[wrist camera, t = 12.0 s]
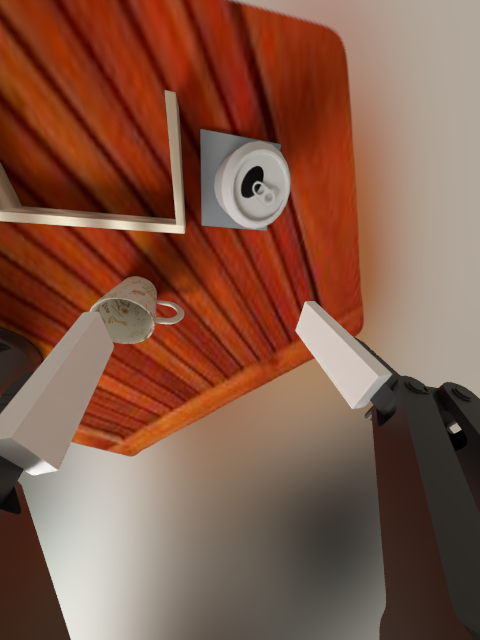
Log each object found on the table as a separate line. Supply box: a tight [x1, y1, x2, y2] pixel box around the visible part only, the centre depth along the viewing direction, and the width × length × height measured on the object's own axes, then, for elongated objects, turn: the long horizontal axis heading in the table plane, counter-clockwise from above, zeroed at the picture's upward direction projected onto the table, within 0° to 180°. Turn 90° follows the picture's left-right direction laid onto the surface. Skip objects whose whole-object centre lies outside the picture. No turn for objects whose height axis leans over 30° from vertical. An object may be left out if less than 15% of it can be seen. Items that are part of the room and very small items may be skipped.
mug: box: [90, 276, 184, 344], centre depth 31 cm, size 8×13×10 cm, turn 72°
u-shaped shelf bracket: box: [0, 90, 186, 234], centre depth 22 cm, size 22×13×5 cm, turn 83°
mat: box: [200, 129, 281, 231], centre depth 28 cm, size 11×11×1 cm
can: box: [214, 141, 290, 229], centre depth 23 cm, size 8×8×12 cm
